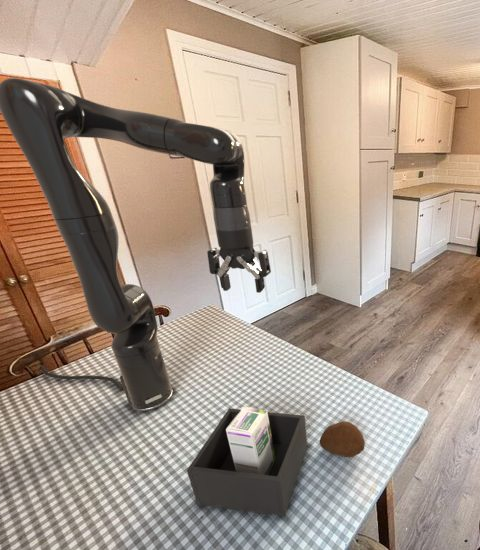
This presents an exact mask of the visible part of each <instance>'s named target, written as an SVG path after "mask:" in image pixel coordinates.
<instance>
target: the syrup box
mask: <svg viewBox="0 0 480 550" xmlns="http://www.w3.org/2000/svg"><path fill="white" fill-rule="evenodd" d="M268 412H269V411H268V410H265V409H260V408H255V407H247V406H242V407H241V411H240V412H239V413H238V414H237V416H236V417H235V418H234V419H233V421H232V422H231V423H230V425H229V426H228V427H227V429H226V433H227V437H228V441H229V445H230V449H231V453H232V457H233V461H234V465H235V469H236V472H243V473H252V474H260V475H268V474H269V472H270V470H271V468H272V466H273V464H274V462H275V461H276V459H275V453H274V447H273V441H272V436H271V430H270V424H269V418H268Z"/></svg>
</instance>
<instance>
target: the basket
mask: <svg viewBox="0 0 480 550" xmlns="http://www.w3.org/2000/svg"><path fill="white" fill-rule="evenodd" d="M241 409H242V408H241ZM241 409H240V408H230V407H229V408H228V409H227V410H226V412H225V414H224V415H223V417H222V418H221V419H220V421H219V422H218V423H217V425H216V426H215V428H214V429H213V431H212V432H211V434H210V435H209V437H208V438H207V440H206V441H205V443H204V444H203V446H202V447H201V449H200V450H199V451H198V453H196V456H195V457H194V459H193V460H192V461H191V463H190V465H189V466H188V467H187V469H186V473H187V476H188V479H189V483H190V486H191V489H192V493H193V496H194V499H195V502H196V505H197V506H202V507H208V508H209V507H211V508H217V509H225V510H232V511H233V510H234V511H241V512H247V513H257V514H264V515H272V516H277V517H278V516H279V517H286V515H287V512H288V508H289V505H290V503H291V500H292V496H293V494H294V490H295V487H296V485H297V482H298V479H299V475H300V472H301V468H302V465H303V463H304V459H305V456H306V453H307V450H308V437H307V427H306V416H305V415H303V414H293V413H283V412H282V413H281V412H272V411H267V412H268V418H269V424H270V430H271V436H272V441H273V447H274V453H275V459H276V461H275V462H274V464H273V466H272V468H271V470H270V472H269V474H268V475H260V474H252V473H243V472H236V469H235V465H234V461H233V457H232V453H231V449H230V445H229V441H228V437H227V433H226V429H227V427H228V426H229V425H230V423H231V422H232V421H233V419H234V418H235V417H236V416H237V414H238V413H239V412H240V411H241Z"/></svg>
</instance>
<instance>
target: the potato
mask: <svg viewBox="0 0 480 550" xmlns="http://www.w3.org/2000/svg"><path fill="white" fill-rule="evenodd" d="M365 443H366V442H365V439H364V435H363V433H362V432H361V431H360V429H359V428H358V426H356V425H355V424H353V422H350V421H347V420H344V421H338V422H336V423H333V424H330V425H328V426H327V427H326V428H325V429H324V431H322V434H321V436H320V439H319V445H320V448H322V449H323V450H325V451H326V452H328V453H330V454H332V455H335V456H340V457H343V458H347V459H351V458H354V457H356V456H358V455H360V454H361V453H362V452H364V450H365V447H366V446H365V445H366V444H365Z"/></svg>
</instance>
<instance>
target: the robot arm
mask: <svg viewBox="0 0 480 550" xmlns="http://www.w3.org/2000/svg"><path fill="white" fill-rule="evenodd" d="M0 113H1V116H2V118H3V120H4V122H5V124H6V126H7V128H8V130H9V132H10V133H11V135H12V137H13V138H14V140H15V142H16V144H17V145H18V147H19V148H20V151H21V152H22V153H23V156H24V157H25V159H26V161H27V162H28V165H29V167H30V168H31V170H32V172H33V175H34V177H35V179H36V181H37V183H38V185H39V187H40V190H41V192H42V194H43V196H44V198H45V200H46V203H47V204H48V207H49V210H50V212H51V215H52V218H53V220H54V223H55V225H56V227H57V229H58V232H59V235H60V236H61V238H62V240H63V242H64V244H65V246H66V249H67V251H68V254H69V256H70V258H71V261H72V264H73V266H74V269H75V271H76V273H77V276H78V279H79V282H80V285H81V289H82V292H83V297H84V299H85V303H86V307H87V310H88V313H89V316H90V318H91V320H92V321H93V323H94V325H96V326H97V327H98V328H99V329H100V330H102V331H104V332H106V333H109V334H115V335H114V337H113V339H112V341H111V349H112V353H113V355H114V358H115V360H116V363H117V367H118V369H119V371H120V376H119V380H120V382H119V381H117V380H116V379H115V378H112V377H109V376H103V375H102V376H101V375H59V374H55V373H52V372H49V371H48V370H47V368H46V367H45V365H43V364H41V365H40V366H39V370H41V371H42V372H43V374H44V375H45V376H47V377H50V378H53V379H54V378H55V379H61V380H102V381H109V382H111V383H113V384H114V385H115V386H116V388H118V389H119V390H120V391H124V395H125V397H126V399H127V402H128V405H129V406H131V407H132V409H133V410H135V411H137V412H149V411H153V410H155V409H157V408H159V407H161V406H163V405H165V404H166V403H167V402H168V401H169V400H170V399H171V398H172V397H173V395H174V389H173V387H172V385H171V380H170V377H169V374H168V371H167V367H166V363H165V359H164V356H163V352H162V350H161V346H160V342H159V340H158V330H159V329H158V328H159V327H158V322H157V316H156V312H155V308H154V304H153V301H152V298H151V297H150V295H149V294H148V292H147V291H146V290H145V289H144V288H143V287H141V286H139V285H136V284H134V283H133V284H132V283H125V284H121V282H120V278H119V275H118V256H119V246H120V245H119V244H120V242H119V241H120V240H119V231H118V228H117V225H116V221H115V219H114V216H113V213H112V210H111V208H110V206H109V204H108V202H107V200H106V199H105V198H104V197H103V195H102V194H101V193H100V192H99V191H98V189H97V188H96V187H95V186H94V185H93V184H92V183H91V182H90V181H89V180H88V179H87V178H86V177H85V176H84V174H82V172H81V171H80V170H79V168H78V167H77V166H76V164H75V162H74V160H73V159H72V156H71V154H70V152H69V149H68V146H67V143H66V141H65V139H68V138H69V139H70V138H88V139H89V138H92V139H103V140H111V141H114V142H115V141H116V142H120V143H122V144H123V143H124V144H126V145H129V146H132V147H135V148H139V149H142V150H145V151H150V152H154V153H159V154H163V155H168V156H173V157H181V158H186V159H189V160H193V161H195V162H200V163H202V164H207V165H212V172H213V173H212V174H213V177H212V179H211V180H210V182H209V192H210V197H211V198H210V199H211V203H212V212H213V213H212V214H213V215H212V216H213V222H214V227H215V234H216V238H217V239H216V240H217V245H218V247H219V249H218V247H213V248H211V249H208V250H207V252H206V253H207V261H208V269H209V273H210V274H211V275H217V277H218V278H219V283H220V287H221V289H222V290H223V291H224V292H228V290H230V289H231V287H232V286H231V281H230V274H228V273H229V271H230V269H232V270H233V269H239V270H244V269H245V270H246V271H247V272H248V273H250V274H251V275H252V276H253V277H254V284H255V291H256V293H258V294H259V293H260V294H261V292H263V290H264V289H265V287H266V285H265V278H266V277H267V276H269V274H271V272H272V270H271V264H270V258H269V252H268V250H266V249H263V250H261V251H258V250H257V251H256V250H255V248H254V237H253V229H252V222H251V221H252V220H251V215H250V211H249V207H248V201H247V193H246V188H245V152H244V147H243V143H242V141H241V139H240V138H239V137H238V136H237V134H235V133H234V132H232V131H231V130H227V129H223V128H219V127H214V126H209V125H202V124H197V123H189V122H186V121H184V120H180V119H177V118H174V117H173V118H172V117H168V116H164V115H159V114H154V113H150V112H143V111H136V110H129V109H121V108H116V107H111V106H107V105H104V104H100V103H97V102H94V101H91V100H89V99H86V98H84V97H81V96H78V95H76V94H73V93H71V92H68V91H65V90H63V89H62V88H60V87H56V86H53V85H49V84H45V83H43V82H42V83H41V82H37V81H33V80H28V79H24V78H18V77H17V78H16V77H10V78H6V79H4V80H2V81H0ZM220 258H221V259H222V260H223V262H222V264H220ZM255 258H256V260H257V261H258V262H259V263H258V262H257V261H256V260H255ZM48 372H49V373H48ZM120 383H121V384H120Z"/></svg>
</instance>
